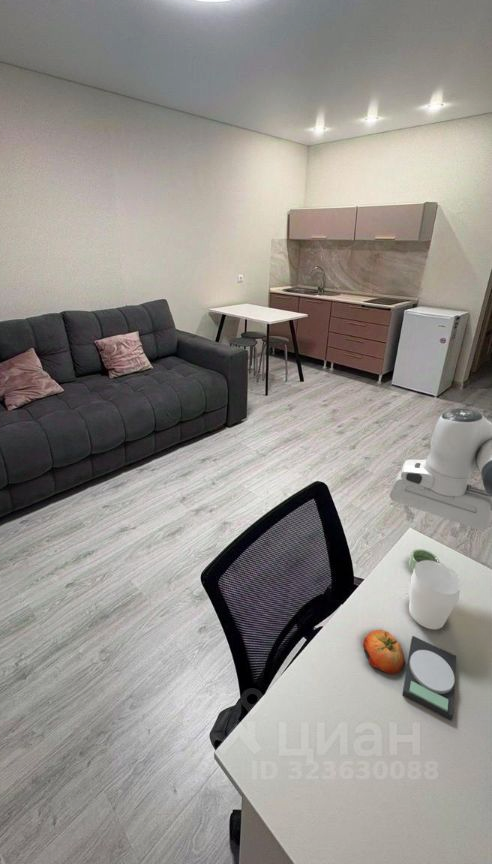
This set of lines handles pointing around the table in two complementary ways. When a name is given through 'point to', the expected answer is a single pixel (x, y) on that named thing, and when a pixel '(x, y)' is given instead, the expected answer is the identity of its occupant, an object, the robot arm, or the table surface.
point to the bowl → (421, 557)
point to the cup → (433, 593)
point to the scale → (430, 677)
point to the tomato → (384, 651)
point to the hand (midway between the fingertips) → (431, 527)
